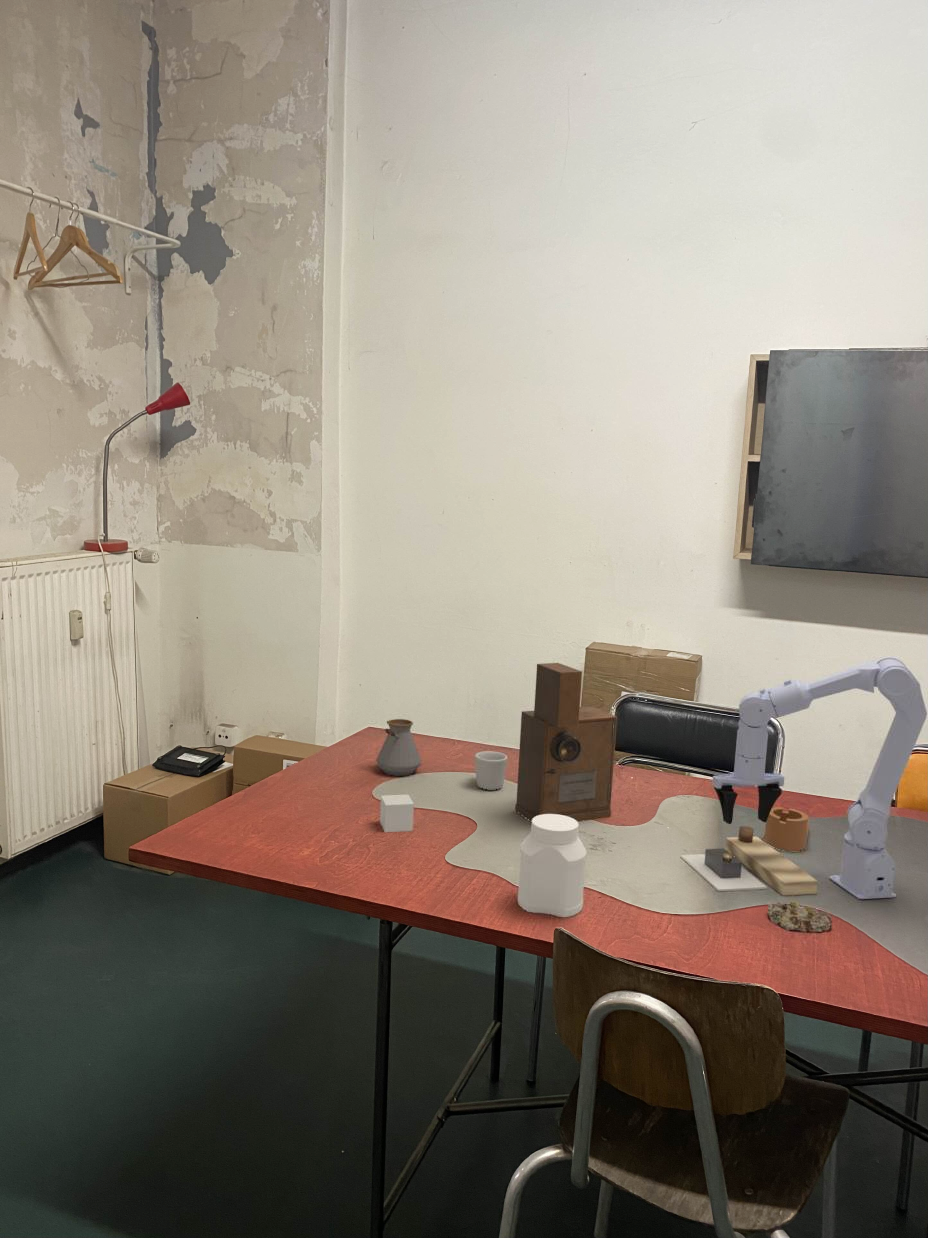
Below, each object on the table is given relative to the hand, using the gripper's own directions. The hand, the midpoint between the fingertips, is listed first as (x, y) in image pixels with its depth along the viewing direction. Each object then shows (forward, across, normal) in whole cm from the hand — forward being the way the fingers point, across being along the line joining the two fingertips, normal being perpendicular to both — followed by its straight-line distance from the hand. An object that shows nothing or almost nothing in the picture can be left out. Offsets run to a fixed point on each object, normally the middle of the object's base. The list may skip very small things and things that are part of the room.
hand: (744, 821), depth 179 cm
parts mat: (+10, +5, +2) cm, 11 cm away
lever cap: (+9, +5, +2) cm, 11 cm away
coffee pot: (+9, +60, -62) cm, 87 cm away
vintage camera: (+10, +27, -31) cm, 42 cm away
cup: (+9, +39, -53) cm, 67 cm away
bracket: (+10, -19, -14) cm, 26 cm away
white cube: (+9, +65, -29) cm, 72 cm away
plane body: (+10, -5, +2) cm, 11 cm away
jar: (+10, +43, +10) cm, 46 cm away
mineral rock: (+10, +2, +23) cm, 25 cm away
